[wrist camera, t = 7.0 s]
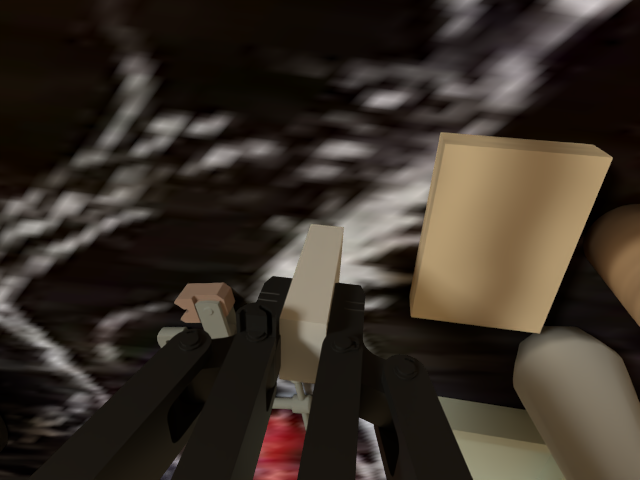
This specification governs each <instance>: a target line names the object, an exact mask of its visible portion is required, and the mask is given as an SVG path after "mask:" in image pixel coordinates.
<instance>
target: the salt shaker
mask: <svg viewBox="0 0 640 480" xmlns="http://www.w3.org/2000/svg"><path fill="white" fill-rule="evenodd" d="M513 387H514V389H515V390H516V392H517V394H518V396H519V398H520V400H521V402H522V403H523V405H524V407H525V409H526V410H527V412H528V414H529V416H530V417H531V419H532V421H533V423H534V425H535V426H536V428H537V430H538V432H539V433H540V435H541V437H542V439H543V440H544V442H545V444H546V446H547V447H548V449H549V451H550V453H551V454H552V456H553V458H554V460H555V461H556V463H557V465H558V467H559V468H560V470H561V472H562V474H563V475H564V477H565V479H566V480H640V402H639V400H638V397H637V395H636V392H635V389H634V387H633V384H632V382H631V379H630V376H629V374H628V371H627V369H626V367H625V364H624V362H623V360H622V358H621V357H620V356H619V355H618V354H617V353H616V352H615V351H614V350H612V349H611V348H609V347H608V346H606V345H605V344H604V343H602V342H601V341H599V340H597V339H596V338H594V337H593V336H591V335H589V334H588V333H586V332H584V331H583V330H581V329H580V328H578V327H576V326H543V327H542V329H541V332H540V334H539V333H533V334H532V335H530V336H529V337H528V338H526V339H525V340H524V341H522V342H521V343H520V344H519V348H518V353H517V357H516V361H515V366H514V374H513Z"/></svg>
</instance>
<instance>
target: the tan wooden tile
mask: <svg viewBox="0 0 640 480" xmlns="http://www.w3.org/2000/svg"><path fill="white" fill-rule="evenodd" d="M612 159H613V157H611V156H610V155H608V154H607V153H605V152H604V151H602V150H601V149H599V148H597V147H596V146H594V145H590V144H578V143H565V142H553V141H541V140H528V139H516V138H504V137H491V136H479V135H467V134H454V133H442V132H441V133H440V138H439V144H438V149H437V154H436V159H435V165H434V170H433V175H432V180H431V186H430V191H429V196H428V201H427V207H426V212H425V217H424V222H423V228H422V233H421V238H420V243H419V248H418V254H417V259H416V264H415V269H414V275H413V280H412V285H411V290H410V311H411V317H415V318H423V319H431V320H439V321H446V322H454V323H462V324H470V325H477V326H485V327H493V328H500V329H508V330H516V331H524V332H531V333H539V334H540V332H541V329H542V327H543V325H544V322H545V320H546V317H547V315H548V313H549V310H550V308H551V305H552V303H553V301H554V298H555V296H556V293H557V291H558V289H559V286H560V284H561V281H562V279H563V276H564V274H565V272H566V269H567V267H568V264H569V262H570V260H571V257H572V255H573V252H574V250H575V248H576V245H577V243H578V240H579V238H580V236H581V233H582V231H583V228H584V226H585V224H586V221H587V219H588V216H589V214H590V211H591V209H592V207H593V204H594V202H595V199H596V197H597V195H598V192H599V190H600V187H601V185H602V183H603V180H604V178H605V175H606V173H607V171H608V168H609V166H610V163H611V161H612Z"/></svg>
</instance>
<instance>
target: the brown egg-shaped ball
mask: <svg viewBox="0 0 640 480" xmlns="http://www.w3.org/2000/svg"><path fill="white" fill-rule="evenodd" d="M583 250H584V254H585V256H586V258H587V260H588V261H589V262H590V263H591V265H592V266H593V267H594V269H595V270H596V271H597V272H598V274H599V275H600V276H601V278H602V279H603V280H604V281H605V283H606V284H607V285H608V287H609V288H610V289H611V290H612V292H613V293H614V294H615V296H616V297H617V298H618V299H619V301H620V302H621V303H622V305H623V306H624V307H625V308H626V310H627V311H628V312H629V314H630V315H631V316H632V317H633V319H634V320H635V321H636V323H637V324H638V325H639V326H640V204H630V205H625V206H621V207H618V208H615V209H613V210H611V211H609V212H607V213H605V214H604V215H602V216H601V217H599V218H598V219H597V220H596V221H595V222H594V223H593V224H592V225H591V226H590V228H589V229H588V231H587V233H586V235H585V237H584V241H583Z"/></svg>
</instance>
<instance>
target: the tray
mask: <svg viewBox="0 0 640 480" xmlns="http://www.w3.org/2000/svg"><path fill="white" fill-rule="evenodd" d="M438 398H439V401H440V403H441V405H442V408H443V410H444V412H445V415H446V417H447V419H448V422H449V424H450V427H451V429H452V431H453V434H454V436H455V438H456V441H457V443H458V445H459V448H460V450H461V452H462V455H463V457H464V459H465V462H466V464H467V466H468V469H469V471H470V473H471V476H472V478H473V480H566V479H565V477H564V475H563V474H562V472H561V470H560V468H559V467H558V465H557V463H556V461H555V460H554V458H553V456H552V454H551V453H550V451H549V449H548V447H547V446H546V444H545V442H544V440H543V439H542V437H541V435H540V433H539V432H538V430H537V428H536V426H535V425H534V423H533V421H532V419H531V417H530V416H529V414H528V412H527V410H522V409H516V408H510V407H503V406H497V405H490V404H484V403H478V402H471V401H465V400H458V399H452V398H446V397H439V396H438Z"/></svg>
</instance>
